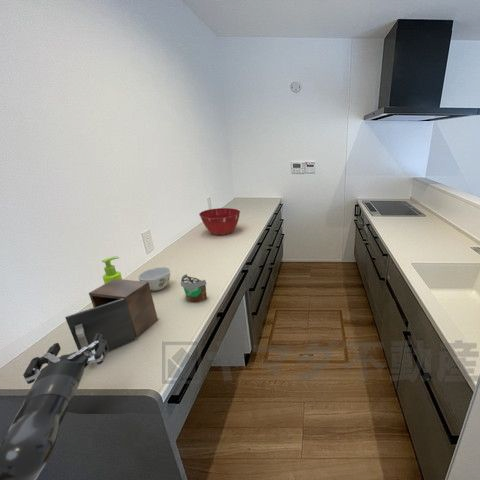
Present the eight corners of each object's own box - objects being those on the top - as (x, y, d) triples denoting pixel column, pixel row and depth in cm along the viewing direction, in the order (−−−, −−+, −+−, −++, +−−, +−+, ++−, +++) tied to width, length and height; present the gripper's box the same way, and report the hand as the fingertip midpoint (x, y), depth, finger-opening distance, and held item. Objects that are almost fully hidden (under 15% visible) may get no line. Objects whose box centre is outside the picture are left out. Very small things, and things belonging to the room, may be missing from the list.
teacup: (154, 280, 130) (151, 266, 127) (178, 282, 128) (175, 267, 126) (131, 297, 116) (126, 281, 113) (158, 299, 114) (154, 283, 112)
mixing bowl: (247, 227, 210) (245, 208, 205) (233, 239, 184) (230, 218, 178) (213, 225, 213) (211, 207, 207) (194, 237, 186) (191, 216, 181)
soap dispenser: (133, 298, 115) (121, 257, 108) (116, 307, 109) (103, 263, 102) (125, 295, 117) (113, 254, 110) (108, 303, 111) (94, 260, 104)
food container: (177, 300, 114) (173, 279, 111) (189, 293, 119) (185, 273, 116) (197, 307, 109) (193, 286, 106) (209, 299, 114) (205, 279, 111)
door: (139, 348, 87) (127, 306, 81) (85, 372, 78) (66, 327, 72) (135, 338, 91) (123, 298, 86) (82, 360, 82) (65, 316, 76)
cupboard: (137, 338, 92) (125, 297, 86) (102, 333, 94) (88, 293, 88) (158, 320, 101) (148, 281, 95) (126, 316, 103) (114, 278, 97)
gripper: (15, 416, 54) (48, 360, 68) (100, 389, 60) (115, 343, 74) (0, 389, 52) (37, 337, 65) (91, 365, 58) (108, 321, 71)
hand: (79, 340), depth 70 cm, fingers open, 8 cm apart
